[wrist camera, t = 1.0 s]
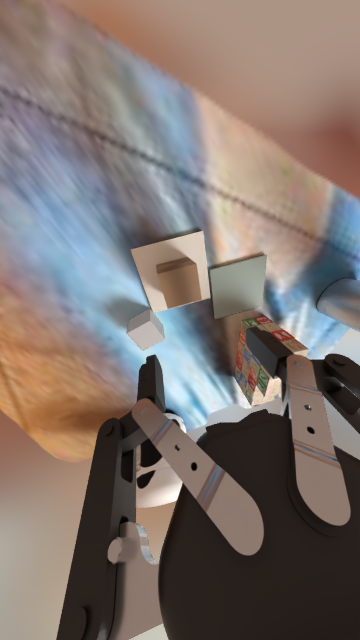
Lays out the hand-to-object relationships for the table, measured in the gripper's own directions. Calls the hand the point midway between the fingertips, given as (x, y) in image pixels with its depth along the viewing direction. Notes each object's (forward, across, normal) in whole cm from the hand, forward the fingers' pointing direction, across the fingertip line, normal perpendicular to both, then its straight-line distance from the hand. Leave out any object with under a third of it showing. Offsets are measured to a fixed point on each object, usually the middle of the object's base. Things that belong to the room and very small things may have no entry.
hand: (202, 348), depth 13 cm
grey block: (+19, +8, +7) cm, 21 cm away
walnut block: (+18, 0, -1) cm, 18 cm away
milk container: (+19, +17, +47) cm, 53 cm away
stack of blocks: (+19, -15, +24) cm, 34 cm away
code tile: (+18, 0, -1) cm, 19 cm away
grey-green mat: (+18, -12, +5) cm, 23 cm away
